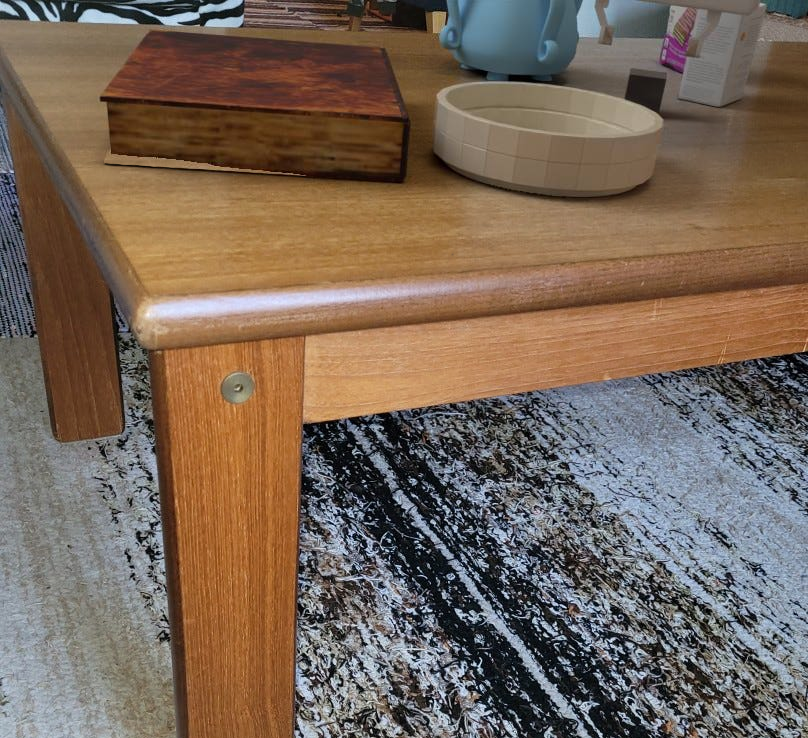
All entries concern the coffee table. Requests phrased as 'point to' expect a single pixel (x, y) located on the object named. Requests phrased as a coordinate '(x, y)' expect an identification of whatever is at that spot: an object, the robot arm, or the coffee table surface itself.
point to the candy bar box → (677, 37)
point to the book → (261, 106)
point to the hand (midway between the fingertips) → (648, 50)
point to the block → (646, 88)
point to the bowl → (545, 138)
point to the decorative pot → (512, 36)
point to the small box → (722, 59)
